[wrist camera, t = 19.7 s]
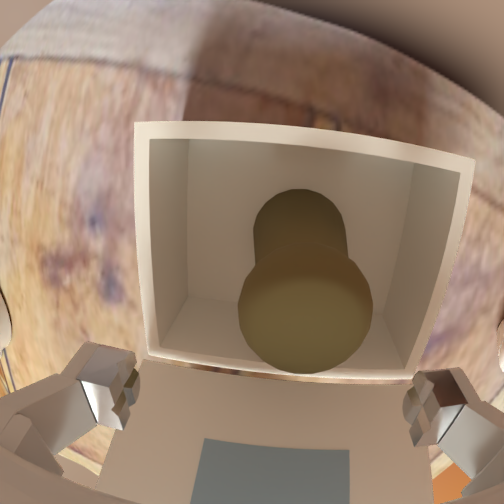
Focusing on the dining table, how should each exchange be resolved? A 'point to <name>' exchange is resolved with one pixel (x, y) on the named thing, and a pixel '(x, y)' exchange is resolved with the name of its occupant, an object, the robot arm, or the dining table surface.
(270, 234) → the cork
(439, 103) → the dining table surface
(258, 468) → the mailer lid
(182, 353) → the base
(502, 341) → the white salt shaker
